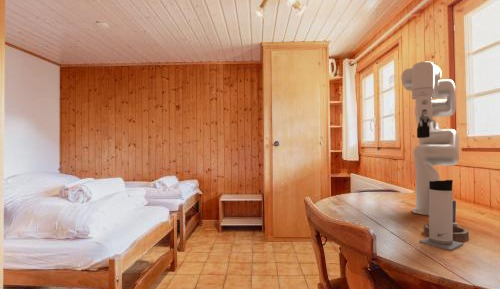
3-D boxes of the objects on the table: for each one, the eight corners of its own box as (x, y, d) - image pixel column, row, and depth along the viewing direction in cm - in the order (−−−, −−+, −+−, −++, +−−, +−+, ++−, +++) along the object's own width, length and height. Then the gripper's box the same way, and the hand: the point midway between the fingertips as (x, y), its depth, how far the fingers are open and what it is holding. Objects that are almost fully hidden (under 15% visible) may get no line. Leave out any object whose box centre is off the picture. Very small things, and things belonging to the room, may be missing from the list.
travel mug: (443, 246, 88) (443, 180, 88) (424, 239, 94) (424, 178, 94) (458, 244, 90) (458, 179, 90) (438, 237, 96) (438, 177, 96)
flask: (444, 228, 109) (444, 197, 109) (435, 226, 111) (435, 196, 111) (457, 224, 114) (457, 195, 114) (448, 223, 116) (448, 194, 117)
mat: (432, 237, 98) (432, 235, 98) (463, 245, 91) (463, 243, 91) (419, 242, 93) (419, 240, 93) (451, 251, 85) (451, 249, 85)
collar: (434, 227, 109) (434, 219, 109) (474, 236, 99) (474, 226, 99) (417, 234, 102) (417, 224, 102) (458, 244, 91) (458, 233, 91)
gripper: (437, 89, 105) (437, 137, 105) (431, 96, 120) (431, 137, 120) (414, 91, 108) (414, 137, 108) (410, 98, 123) (410, 138, 123)
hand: (423, 137), depth 114 cm, fingers open, 9 cm apart
